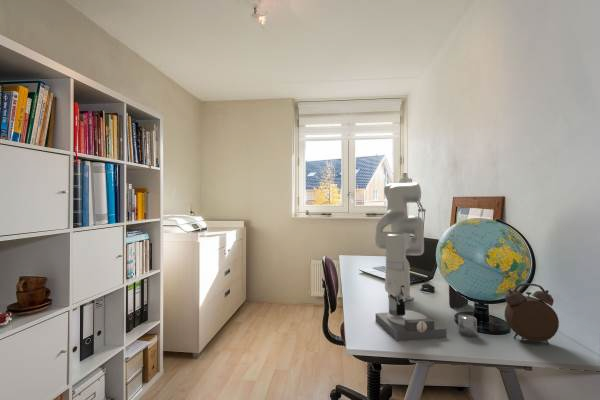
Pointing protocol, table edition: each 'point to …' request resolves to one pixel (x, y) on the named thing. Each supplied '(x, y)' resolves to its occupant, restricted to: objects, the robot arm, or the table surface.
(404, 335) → the scale
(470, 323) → the cylinder
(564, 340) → the table surface
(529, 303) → the alarm clock
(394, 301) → the cylinder
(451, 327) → the table surface
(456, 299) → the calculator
